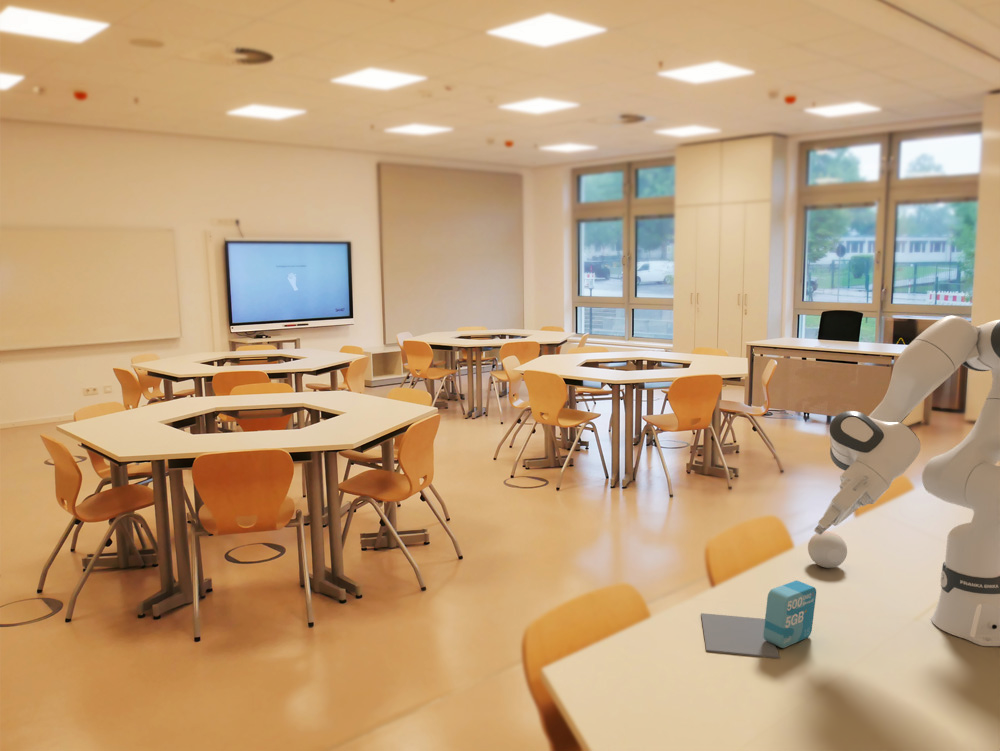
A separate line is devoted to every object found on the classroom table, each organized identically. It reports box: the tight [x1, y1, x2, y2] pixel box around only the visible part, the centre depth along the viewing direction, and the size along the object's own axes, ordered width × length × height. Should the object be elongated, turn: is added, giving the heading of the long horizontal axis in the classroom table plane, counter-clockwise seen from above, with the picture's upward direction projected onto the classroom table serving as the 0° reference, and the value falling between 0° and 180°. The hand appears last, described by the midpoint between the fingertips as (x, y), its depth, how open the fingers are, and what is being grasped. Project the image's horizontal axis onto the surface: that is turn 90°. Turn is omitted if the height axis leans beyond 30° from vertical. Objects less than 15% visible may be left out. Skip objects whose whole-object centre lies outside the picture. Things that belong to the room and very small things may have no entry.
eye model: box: [807, 530, 848, 569], centre depth 213 cm, size 10×10×10 cm
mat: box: [700, 612, 781, 659], centre depth 173 cm, size 15×18×1 cm
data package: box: [763, 580, 817, 649], centre depth 170 cm, size 12×4×12 cm, turn 126°
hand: (818, 529), depth 169 cm, fingers open, 8 cm apart
